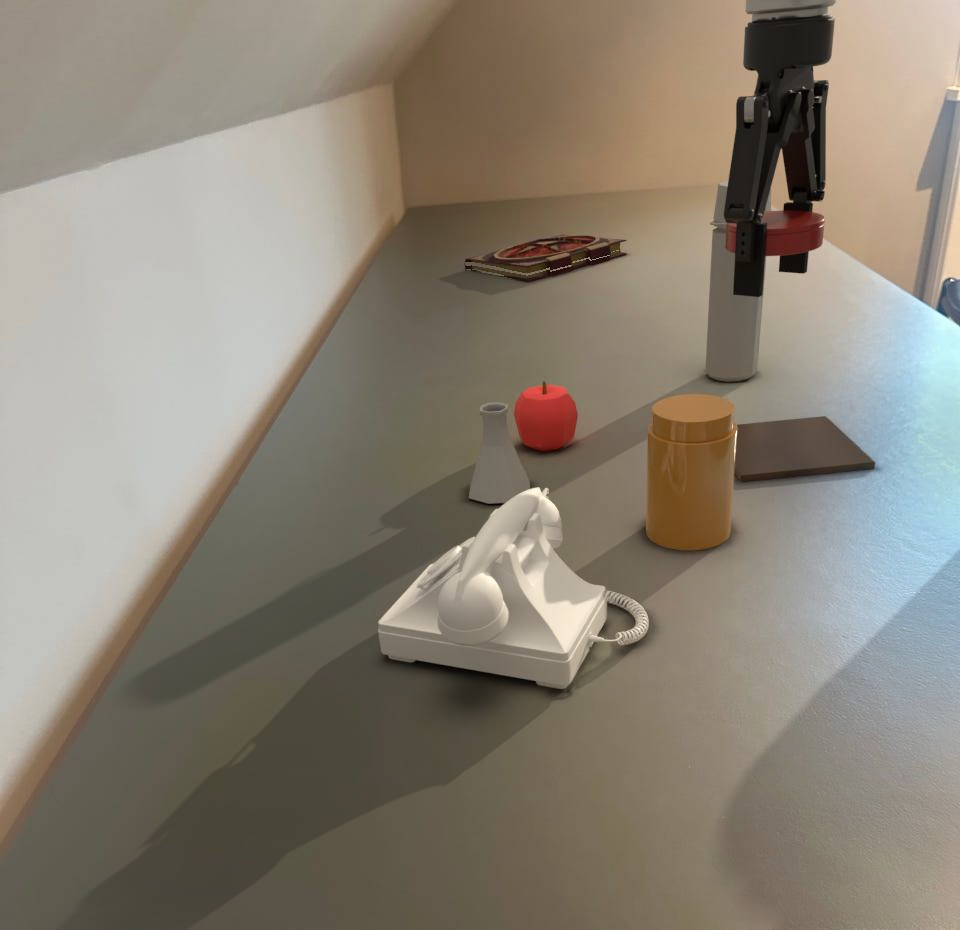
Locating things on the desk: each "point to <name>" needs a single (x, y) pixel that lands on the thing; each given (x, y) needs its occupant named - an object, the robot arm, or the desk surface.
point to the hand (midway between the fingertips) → (770, 283)
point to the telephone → (505, 602)
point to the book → (549, 256)
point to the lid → (786, 232)
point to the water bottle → (730, 310)
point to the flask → (497, 460)
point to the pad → (795, 449)
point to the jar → (690, 471)
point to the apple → (545, 417)
